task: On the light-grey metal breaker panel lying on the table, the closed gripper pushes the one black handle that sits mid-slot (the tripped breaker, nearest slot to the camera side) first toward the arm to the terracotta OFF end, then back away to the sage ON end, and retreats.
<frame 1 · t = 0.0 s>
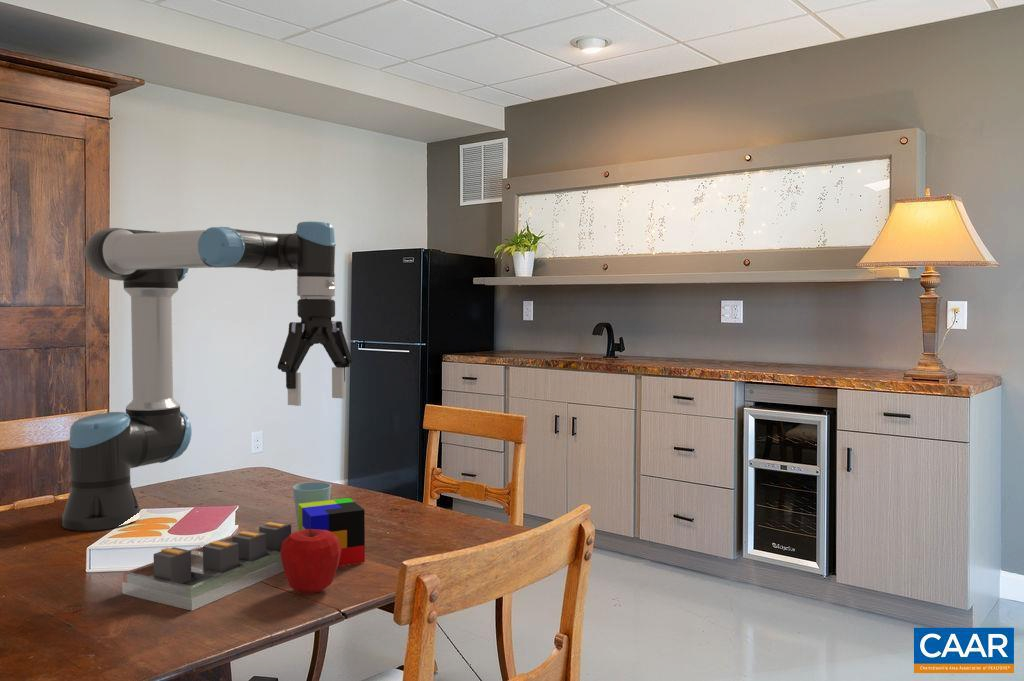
hand: (317, 401, 162), 28 cm above the table, fingers open, 13 cm apart
apple: (311, 592, 132), on the table
cup: (312, 536, 163), on the table
puzzle toy: (331, 560, 149), on the table
breaker 1: (172, 566, 129), point 5 cm above the table, slide at 0.0 cm
breaker 3: (249, 547, 139), point 5 cm above the table, slide at 4.0 cm
breaker 2: (220, 558, 133), point 5 cm above the table, slide at 4.0 cm
breaker 4: (275, 538, 145), point 5 cm above the table, slide at 4.0 cm
panel: (218, 577, 138), on the table
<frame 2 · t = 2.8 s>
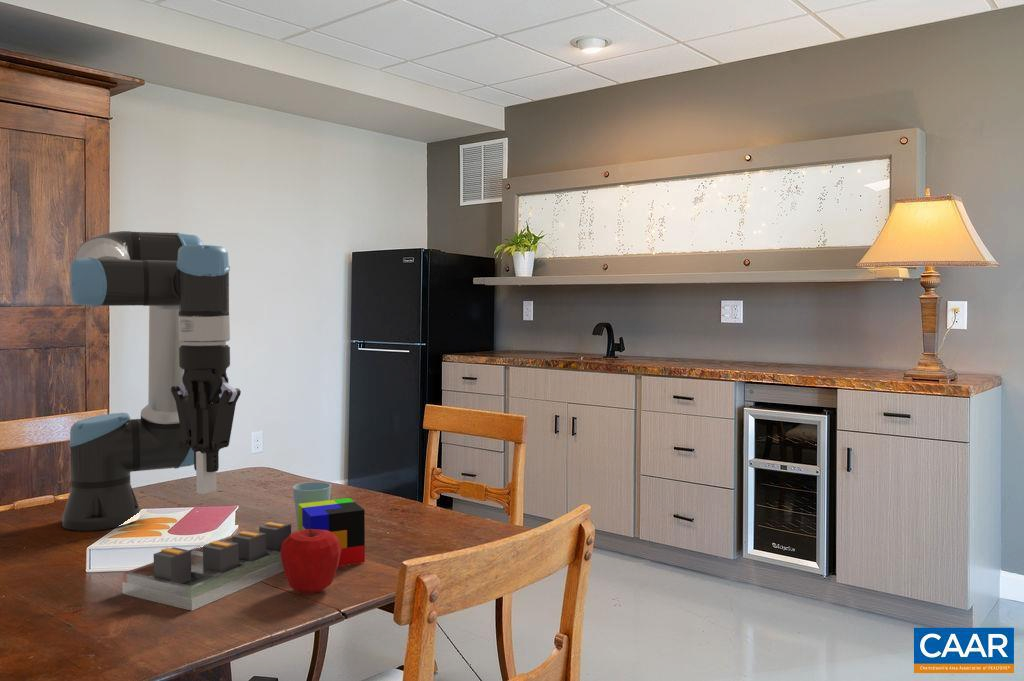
hand: (206, 491, 125), 18 cm above the table, fingers closed
nothing on the table moved.
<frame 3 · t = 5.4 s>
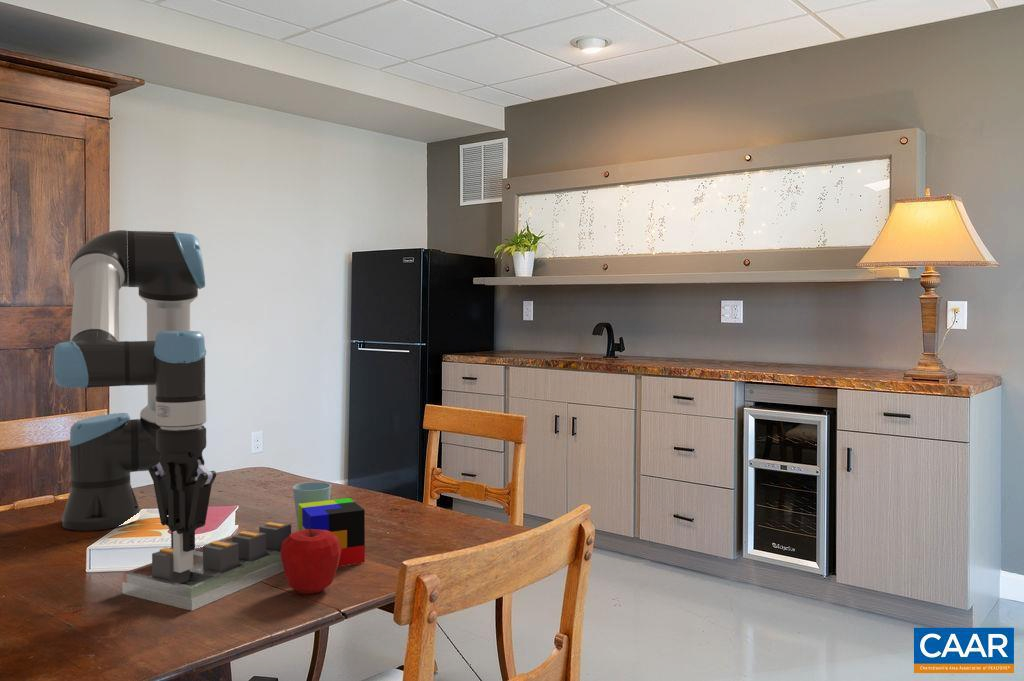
hand: (183, 569, 129), 5 cm above the table, fingers closed
breaker 1: (171, 566, 130), point 5 cm above the table, slide at -0.4 cm, touching gripper
everything else where it was.
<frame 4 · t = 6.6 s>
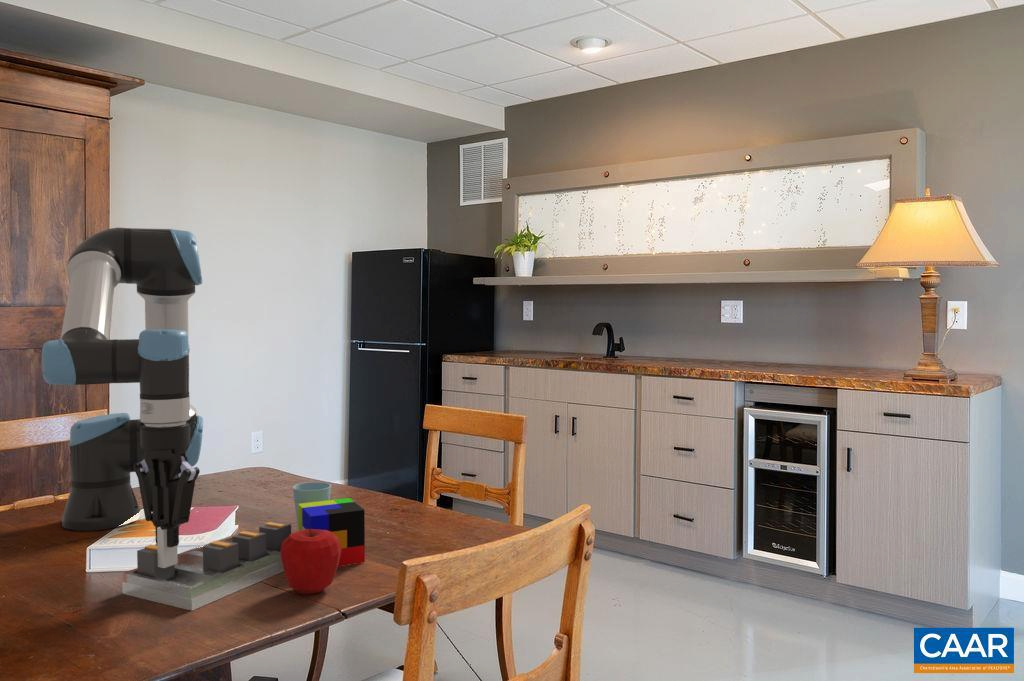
hand: (167, 565, 130), 5 cm above the table, fingers closed
breaker 1: (156, 562, 131), point 5 cm above the table, slide at -3.9 cm, touching gripper
everything else where it was.
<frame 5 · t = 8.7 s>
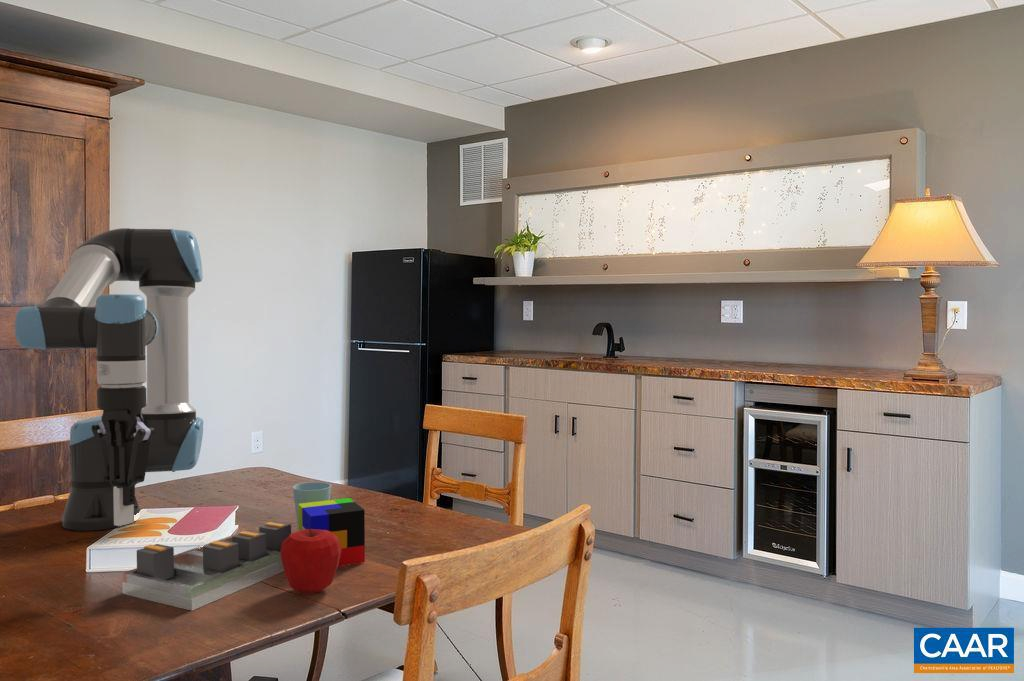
hand: (123, 523, 134), 11 cm above the table, fingers closed
breaker 1: (155, 562, 131), point 5 cm above the table, slide at -4.0 cm
everything else where it was.
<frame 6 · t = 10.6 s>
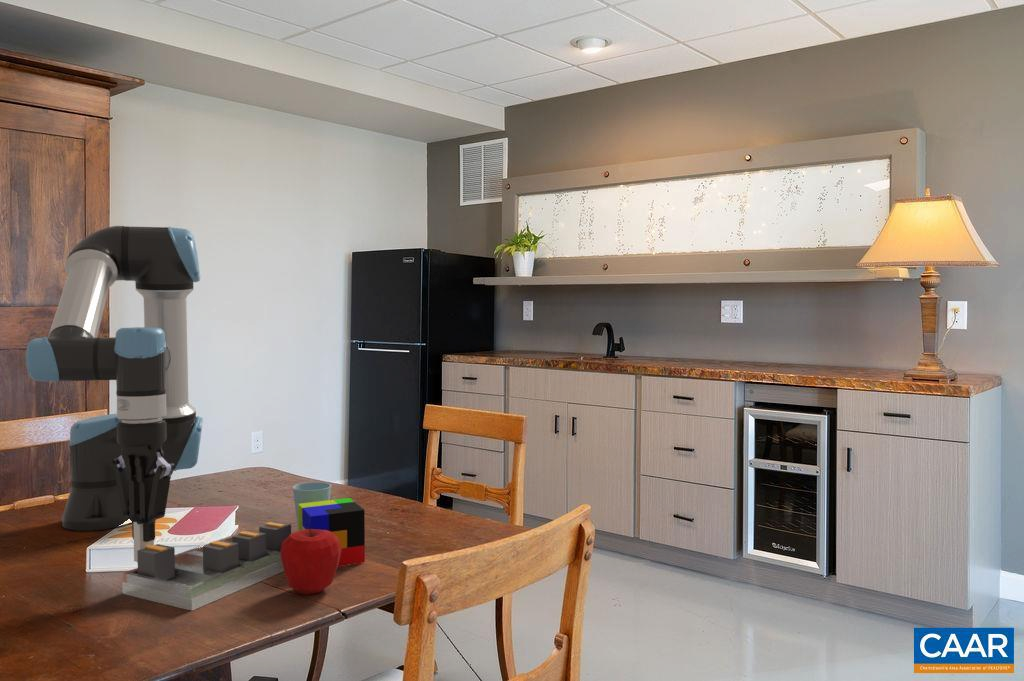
hand: (144, 559, 132), 5 cm above the table, fingers closed
breaker 1: (156, 562, 131), point 5 cm above the table, slide at -3.8 cm, touching gripper
everything else where it was.
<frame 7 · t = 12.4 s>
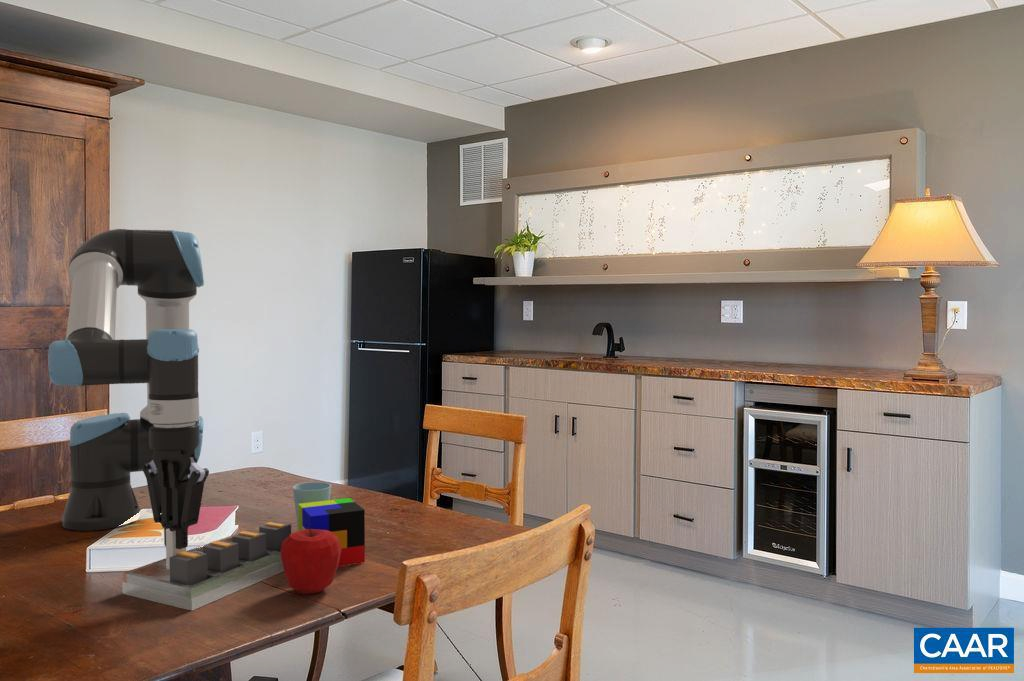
hand: (176, 566, 129), 5 cm above the table, fingers closed
breaker 1: (188, 569, 128), point 5 cm above the table, slide at 3.7 cm, touching gripper
everything else where it was.
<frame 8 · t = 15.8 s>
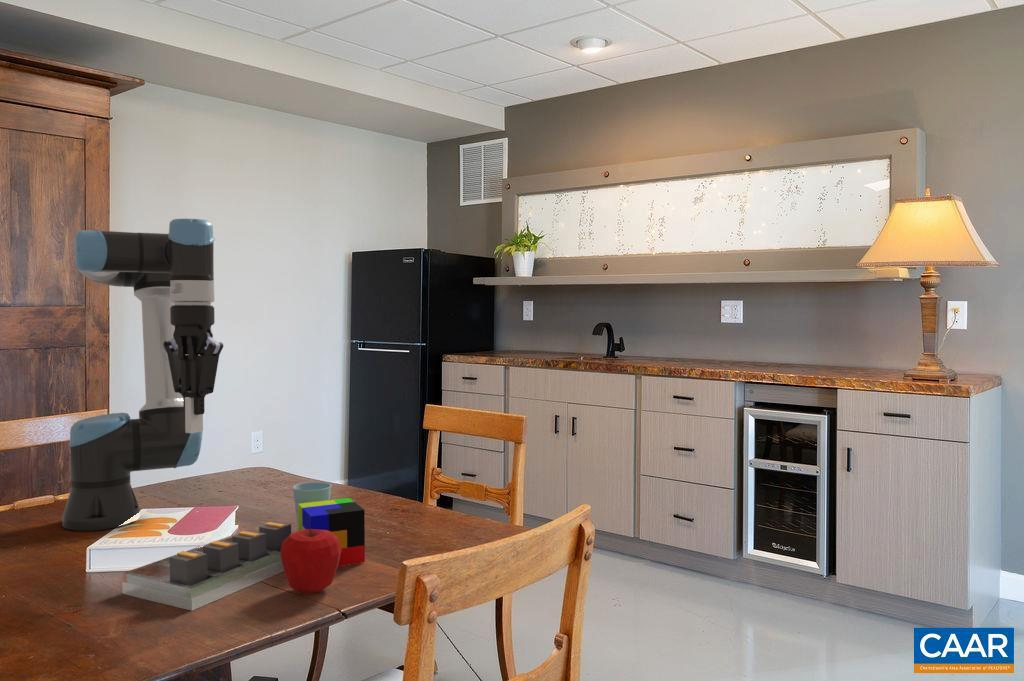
hand: (194, 431, 145), 24 cm above the table, fingers closed
breaker 1: (188, 569, 128), point 5 cm above the table, slide at 3.7 cm
everything else where it was.
at the end: breaker 1 slide at 3.7 cm; breaker 2 slide at 4.0 cm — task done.
